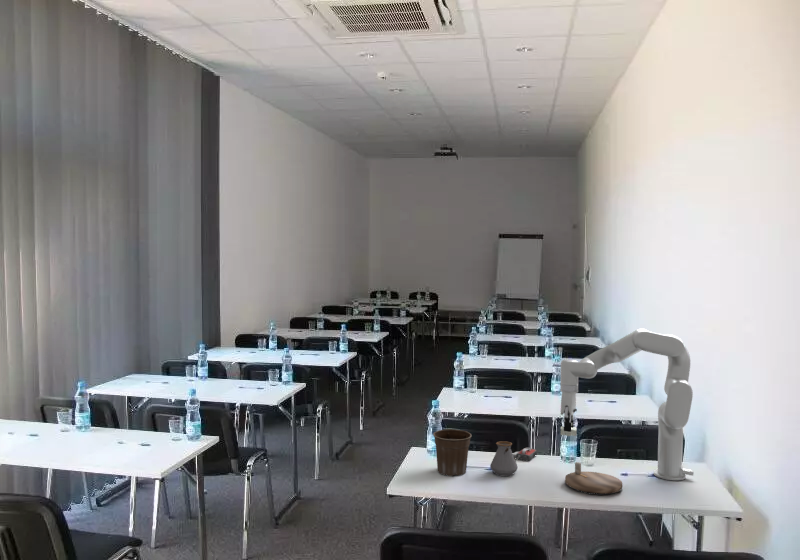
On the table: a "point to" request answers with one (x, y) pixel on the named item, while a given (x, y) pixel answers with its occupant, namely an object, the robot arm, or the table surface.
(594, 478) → the turntable platter
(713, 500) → the table surface
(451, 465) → the plant pot
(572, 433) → the valve
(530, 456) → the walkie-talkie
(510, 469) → the coffee pot
